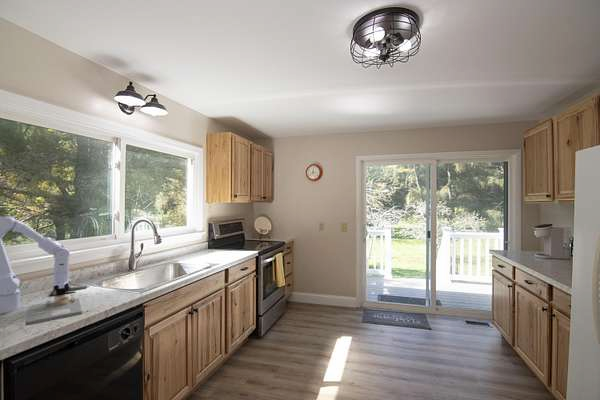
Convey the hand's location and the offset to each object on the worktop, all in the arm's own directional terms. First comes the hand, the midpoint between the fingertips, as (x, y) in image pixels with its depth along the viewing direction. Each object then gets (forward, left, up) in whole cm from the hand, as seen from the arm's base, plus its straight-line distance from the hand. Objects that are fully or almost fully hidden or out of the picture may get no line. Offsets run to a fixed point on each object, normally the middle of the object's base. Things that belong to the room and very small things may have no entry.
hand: (60, 299), depth 137 cm
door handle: (+3, +22, -3) cm, 22 cm away
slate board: (-2, -11, -2) cm, 11 cm away
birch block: (0, -4, -1) cm, 4 cm away
